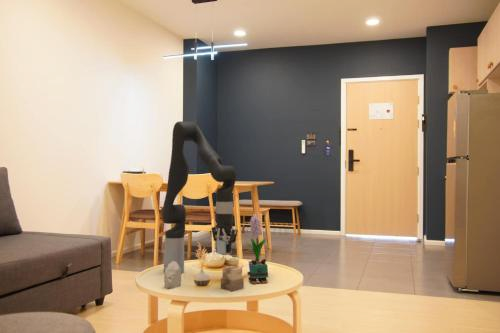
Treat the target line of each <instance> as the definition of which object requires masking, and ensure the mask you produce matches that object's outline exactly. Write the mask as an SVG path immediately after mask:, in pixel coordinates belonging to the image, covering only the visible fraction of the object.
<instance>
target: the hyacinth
mask: <svg viewBox="0 0 500 333" xmlns="http://www.w3.org/2000/svg"><path fill="white" fill-rule="evenodd" d="M260 218H261V217H260V216H259V215H258V214H256V213H254V214H253V215H252V216H251V217H250V221H249V225H250V226H249V227H250V235H251V239H250V241H251V244H250V243H248V242H246V244H247V245H249V247H251V249H252V251H253V253H254V256H255V259H254V260H255V261H257V262H256V264H258V265H260V264H262V262H261V260H262V259H260V256H261V255H260V254H261V250H262V247H263V246H264V245H265V242H266V241H267V239H266V238H263V239H262V240H261V241H260V242H259V239H258V238H259V237H261V236H263V231H262V223H261V219H260ZM254 238H255V239H256V242H255V240H254ZM252 264H253V263H252V260H248V268H249V270H248V271H250V265H252ZM257 280H258V278H257Z"/></svg>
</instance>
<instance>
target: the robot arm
mask: <svg viewBox="0 0 500 333" xmlns="http://www.w3.org/2000/svg"><path fill="white" fill-rule="evenodd" d="M171 139H172V141H171V143H172V144H171V155H170V156H171V157H170V164H169V170H168V178H167V187H166V193H165V197H164V202H163V206H162V211H161V219H162V222H163V223H164V224H166V225H167V224H169V225H170V224H171V225H172V224H175V225H174V226H173V227H172V228H169V229H168V230H166V231H165V235H164V238H165V241H164V242H165V243H164V252H163V272H164V273H165V269H166V268H167V267H168V265H169V264H170V263H171V262H172V261H175V262H177V263H178V264H179V267H180V271H181V274H182V273H184V272H185V232H186V218H187V215H186V214H187V211H186V207H185V206H184V204H174V202H175V200H176V198H177V197H178V195H179V194H180V193H181V191H182V190H183V189H184V187H185V186H186V185H187V182H188V180H189V178H188V177H189V172H190V167H189V163H188V161H187V159H186V157H185V154H184V146H185V145H184V144H185V142H193V143H194V144H196V146H197V147H198V156H199V158H200V160H201V161H202V162H203V163H204V164H205V165H206V167H207V168H208V171H209V173H210V175H211V177H212V179H213V180H214V181H216V182H218V183H222V185H221V187H219V188H217V189H216V193H215V195H216V196H215V200H216V203H215V223H216V225H215V226H212V227H211V234H212V237H213V238H212V239H213V241H215V242H216V243H217V240H223V239H225V240H226V253H230V252H231V244H235V243H236V242H237V241H236V240H237V236H238V229H236V228H234V227H233V223H234V205H233V203H234V202H233V201H234V200H233V192H234V189H235V184H236V180H237V172H236V169H235V168H234V166H232V165H222V163H223V160H222V158H221V156H220V155H219V154H218V153H217V152H216V150H214V148H213V147H212V146H211V145H210V143H209V142H208V139H207V138H206V136H205V135H204V134H203V131H202V130H201V129H200V127H199V126H198V124H197V123H196V122H194V121H188V120H187V121H184V120H183V121H176V122H175V124H174V125H173V129H172V138H171ZM230 254H231V253H230Z"/></svg>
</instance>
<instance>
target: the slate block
mask: <svg viewBox="0 0 500 333" xmlns="http://www.w3.org/2000/svg"><path fill="white" fill-rule="evenodd" d="M232 244H233V243H232ZM232 244H231V252H230V253H226V239H225V238H223V240H217V242H216V254H218V255H223V256H224V255H229V254H232V253H233V252H232V248H233V246H232Z"/></svg>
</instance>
